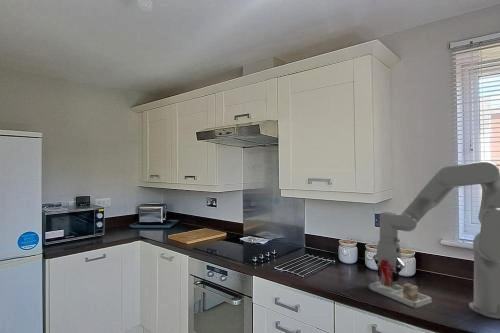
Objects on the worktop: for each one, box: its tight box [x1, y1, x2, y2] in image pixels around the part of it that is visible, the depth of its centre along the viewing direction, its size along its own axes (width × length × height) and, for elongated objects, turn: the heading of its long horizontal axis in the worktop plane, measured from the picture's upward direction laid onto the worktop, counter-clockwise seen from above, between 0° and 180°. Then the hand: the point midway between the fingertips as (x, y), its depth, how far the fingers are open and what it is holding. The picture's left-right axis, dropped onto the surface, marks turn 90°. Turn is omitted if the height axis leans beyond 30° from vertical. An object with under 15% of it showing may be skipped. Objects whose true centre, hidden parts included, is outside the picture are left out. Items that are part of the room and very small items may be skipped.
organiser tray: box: [368, 281, 433, 309], centre depth 133 cm, size 22×12×2 cm, turn 29°
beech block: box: [402, 283, 419, 302], centre depth 129 cm, size 4×4×6 cm
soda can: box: [379, 259, 397, 287], centre depth 138 cm, size 7×7×12 cm
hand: (387, 277), depth 138 cm, fingers closed on soda can, 7 cm apart
